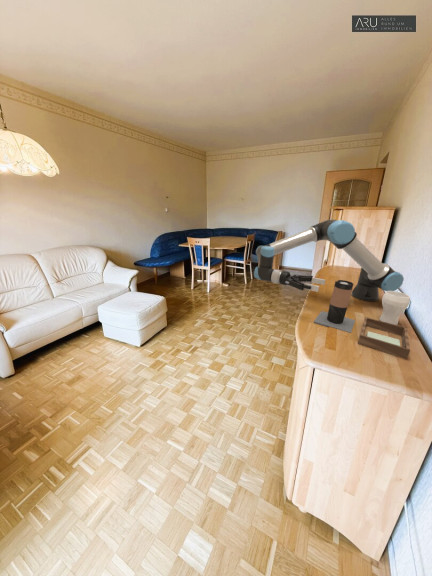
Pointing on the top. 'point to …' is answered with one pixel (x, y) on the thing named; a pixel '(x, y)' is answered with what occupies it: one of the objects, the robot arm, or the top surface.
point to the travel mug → (339, 301)
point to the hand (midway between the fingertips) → (322, 285)
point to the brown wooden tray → (383, 345)
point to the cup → (393, 306)
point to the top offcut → (383, 338)
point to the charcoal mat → (323, 321)
